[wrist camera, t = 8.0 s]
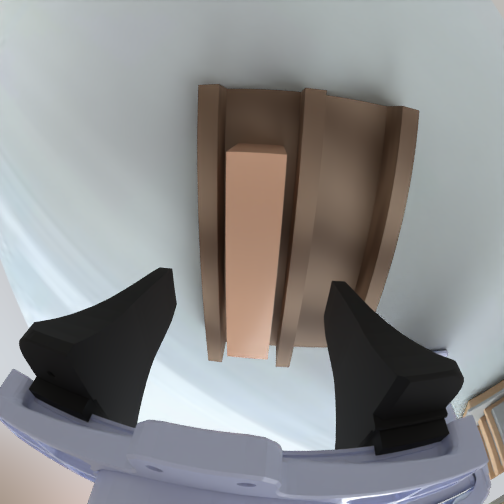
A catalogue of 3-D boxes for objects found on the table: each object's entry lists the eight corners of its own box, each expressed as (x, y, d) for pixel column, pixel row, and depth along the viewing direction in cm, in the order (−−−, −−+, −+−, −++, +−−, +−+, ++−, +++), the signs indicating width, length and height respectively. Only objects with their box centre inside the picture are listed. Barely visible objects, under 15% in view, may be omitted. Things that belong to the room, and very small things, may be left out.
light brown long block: (269, 318, 20) (267, 359, 16) (235, 315, 20) (227, 356, 17) (283, 145, 14) (286, 154, 11) (238, 143, 15) (226, 151, 11)
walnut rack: (351, 339, 22) (358, 367, 19) (209, 331, 22) (201, 359, 20) (402, 111, 14) (426, 113, 11) (204, 90, 14) (188, 85, 11)
